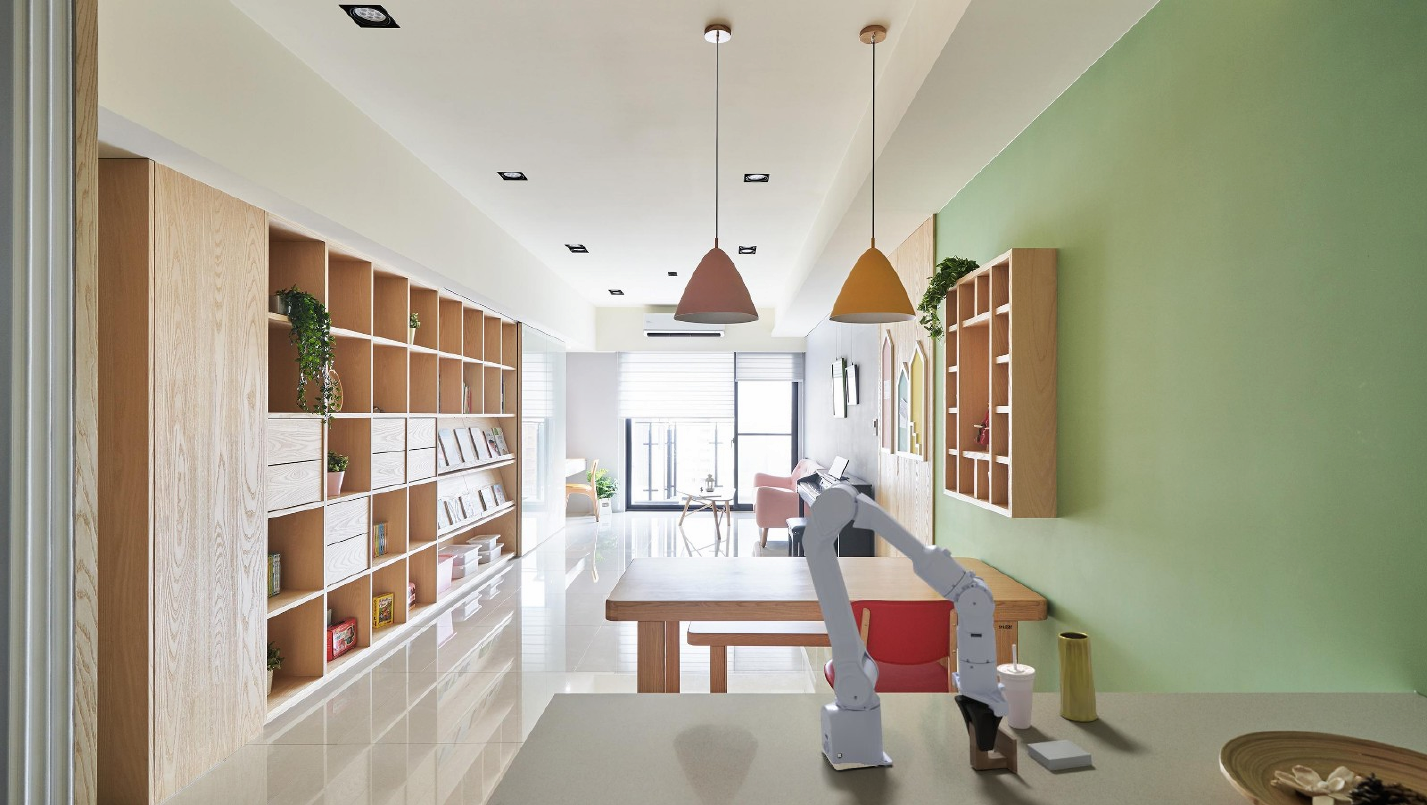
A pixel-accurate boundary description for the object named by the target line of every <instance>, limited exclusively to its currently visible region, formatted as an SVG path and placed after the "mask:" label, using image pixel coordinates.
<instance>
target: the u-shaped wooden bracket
mask: <svg viewBox="0 0 1427 805" xmlns="http://www.w3.org/2000/svg"><path fill="white" fill-rule="evenodd" d="M968 738H969V739H968V740H969V764H970V765H971V767H973V768H974V769H975V770H976V771H979V770H991V769H993V770H994V769H1003V768H1006V769H1008V770H1010V771H1011V772H1012V773H1013V774H1018V746H1017V745H1018V744H1017V743H1018V740H1017V738H1016V737H1014V736H1013V735H1011V734H1010V733H1009V732H1007V731H1006V730H1005V729H1004V728H1002V727H1001V726H999V727H998V731H997V735H996V740H995V745H994V749H993V752H989V751H983V752H981V751H980V750H979V748H978V744H977V740H976V734H975V728H974V724H973V722H969V734H968Z"/></svg>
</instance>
